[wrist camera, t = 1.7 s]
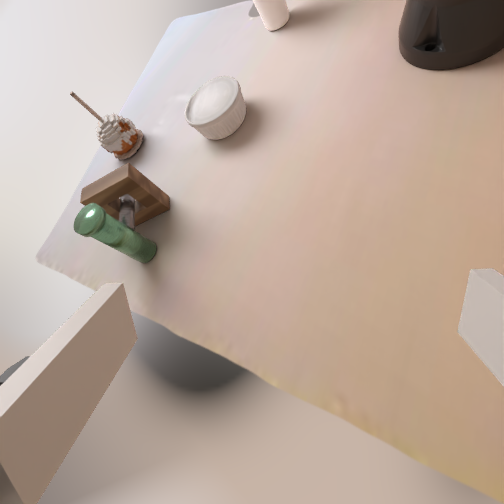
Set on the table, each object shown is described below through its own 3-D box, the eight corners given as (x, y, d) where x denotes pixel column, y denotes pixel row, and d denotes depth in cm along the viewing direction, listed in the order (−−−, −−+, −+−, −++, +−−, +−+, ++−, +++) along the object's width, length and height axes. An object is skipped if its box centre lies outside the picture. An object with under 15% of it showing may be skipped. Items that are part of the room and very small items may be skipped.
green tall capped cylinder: (158, 259, 53) (97, 225, 43) (135, 269, 54) (71, 238, 44) (156, 190, 60) (104, 148, 50) (136, 201, 62) (82, 161, 52)
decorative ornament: (148, 145, 68) (89, 88, 56) (121, 167, 70) (57, 116, 57) (140, 126, 73) (84, 70, 61) (115, 148, 74) (54, 96, 62)
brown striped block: (169, 209, 57) (128, 176, 49) (126, 230, 60) (80, 202, 52) (169, 196, 59) (128, 162, 50) (126, 217, 61) (82, 188, 53)
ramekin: (195, 119, 65) (179, 99, 60) (243, 88, 62) (230, 64, 58) (206, 155, 59) (189, 135, 55) (258, 123, 56) (245, 99, 52)
